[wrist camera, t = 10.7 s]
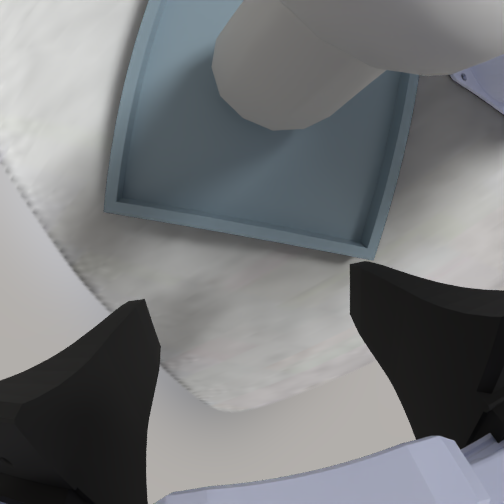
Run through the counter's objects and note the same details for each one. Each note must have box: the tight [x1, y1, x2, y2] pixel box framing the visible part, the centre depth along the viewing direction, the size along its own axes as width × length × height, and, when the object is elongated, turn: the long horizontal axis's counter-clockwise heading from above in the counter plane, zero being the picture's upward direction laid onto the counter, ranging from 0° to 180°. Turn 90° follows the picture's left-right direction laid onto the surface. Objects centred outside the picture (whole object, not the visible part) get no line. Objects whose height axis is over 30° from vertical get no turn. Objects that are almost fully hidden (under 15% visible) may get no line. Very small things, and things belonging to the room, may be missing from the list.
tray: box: [104, 0, 419, 260], centre depth 14 cm, size 14×14×2 cm
